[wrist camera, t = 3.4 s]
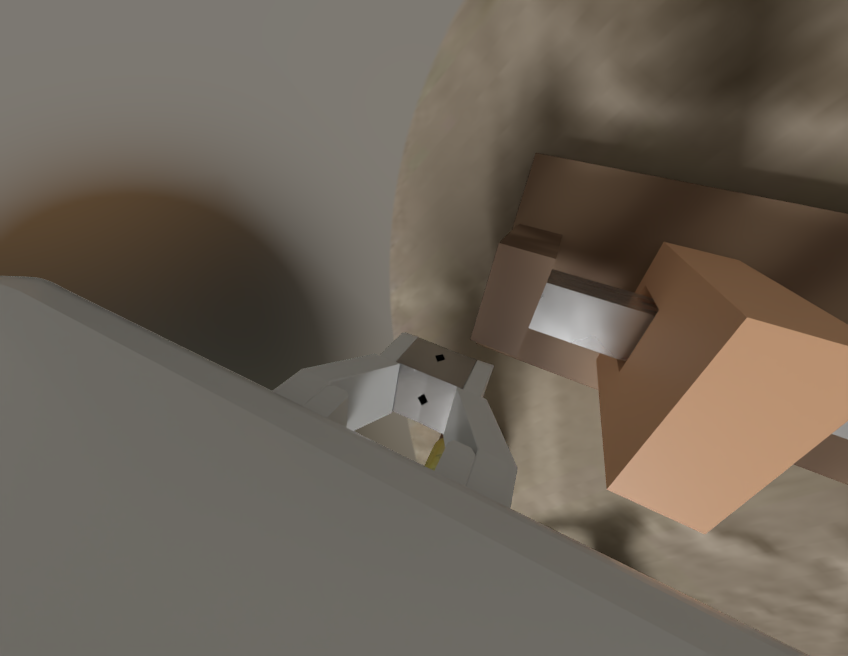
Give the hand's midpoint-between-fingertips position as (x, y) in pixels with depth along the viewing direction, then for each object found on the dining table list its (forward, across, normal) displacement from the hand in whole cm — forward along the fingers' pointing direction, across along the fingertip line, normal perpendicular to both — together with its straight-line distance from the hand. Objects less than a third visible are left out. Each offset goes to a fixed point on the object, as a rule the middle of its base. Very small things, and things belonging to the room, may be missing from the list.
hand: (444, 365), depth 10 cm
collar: (+10, -8, 0) cm, 13 cm away
